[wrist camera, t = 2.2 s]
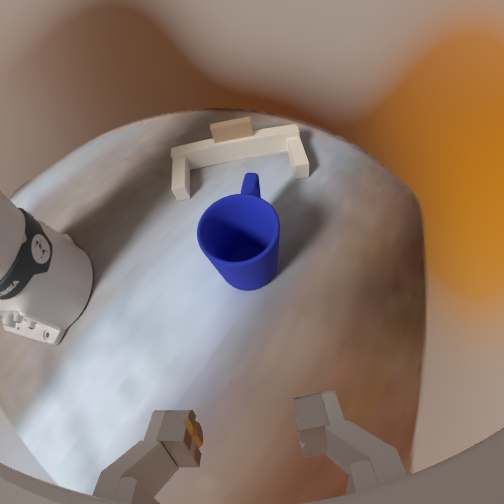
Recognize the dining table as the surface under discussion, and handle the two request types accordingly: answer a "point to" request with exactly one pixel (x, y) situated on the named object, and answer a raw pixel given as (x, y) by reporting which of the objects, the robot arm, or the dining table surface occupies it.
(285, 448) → the dining table surface
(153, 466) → the robot arm
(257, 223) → the mug
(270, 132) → the beige blocky open frame
